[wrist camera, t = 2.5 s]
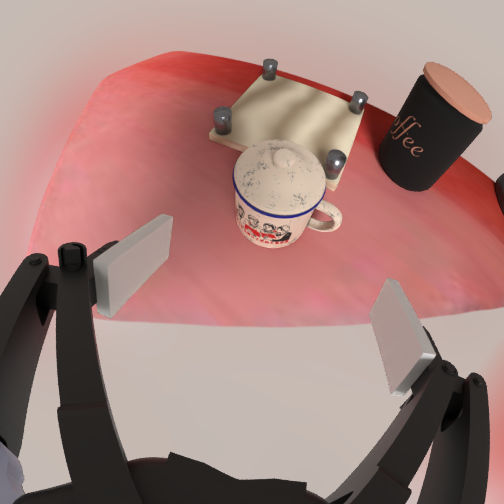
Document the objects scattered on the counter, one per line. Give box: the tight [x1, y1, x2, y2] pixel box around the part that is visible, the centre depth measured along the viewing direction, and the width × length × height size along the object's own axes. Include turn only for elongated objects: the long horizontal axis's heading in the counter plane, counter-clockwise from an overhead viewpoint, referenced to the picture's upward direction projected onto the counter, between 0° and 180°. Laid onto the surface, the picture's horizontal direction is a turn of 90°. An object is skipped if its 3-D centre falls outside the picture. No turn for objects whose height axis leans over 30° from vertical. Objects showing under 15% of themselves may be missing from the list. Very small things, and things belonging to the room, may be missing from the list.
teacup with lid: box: [233, 140, 342, 248], centre depth 28 cm, size 12×9×12 cm
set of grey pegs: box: [214, 59, 368, 180], centre depth 37 cm, size 18×18×4 cm
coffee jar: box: [379, 62, 492, 192], centre depth 30 cm, size 11×11×18 cm
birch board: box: [209, 75, 364, 191], centre depth 39 cm, size 19×19×2 cm
